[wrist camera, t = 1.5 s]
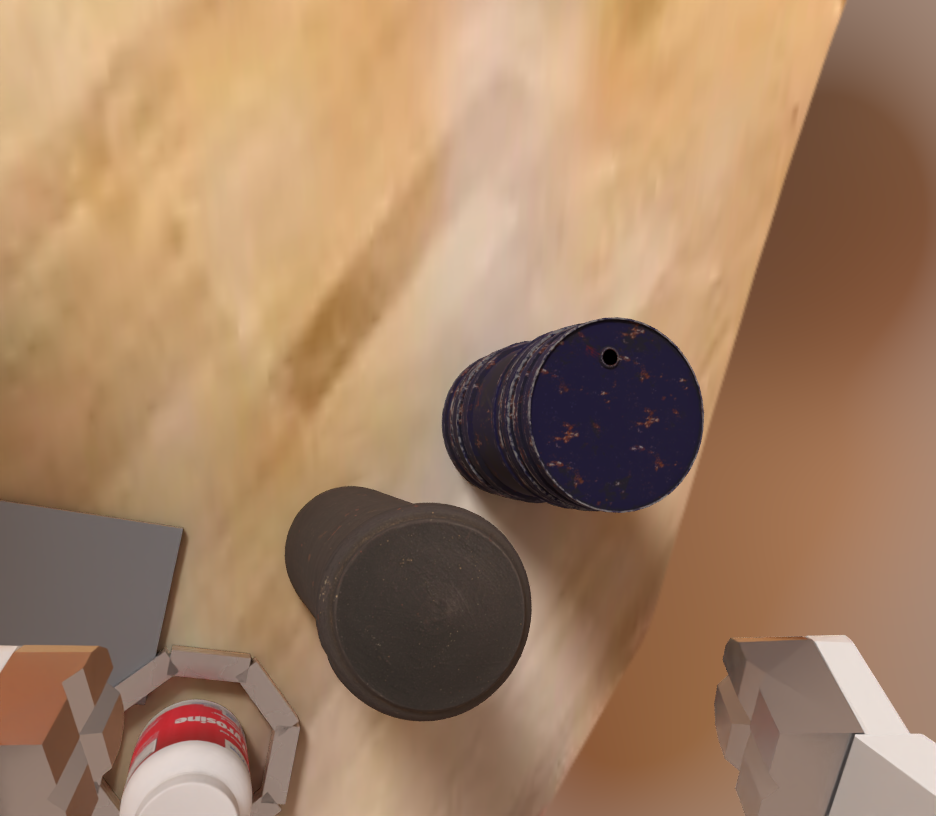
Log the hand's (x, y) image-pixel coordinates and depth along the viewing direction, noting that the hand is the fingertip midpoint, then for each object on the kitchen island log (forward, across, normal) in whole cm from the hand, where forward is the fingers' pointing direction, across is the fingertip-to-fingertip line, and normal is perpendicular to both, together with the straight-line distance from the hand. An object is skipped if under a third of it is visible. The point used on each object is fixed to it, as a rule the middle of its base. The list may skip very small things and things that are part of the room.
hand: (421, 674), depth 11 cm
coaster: (+28, +21, +23) cm, 42 cm away
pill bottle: (+25, +15, +32) cm, 43 cm away
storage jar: (+40, -4, +18) cm, 44 cm away
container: (+33, +6, +23) cm, 41 cm away
